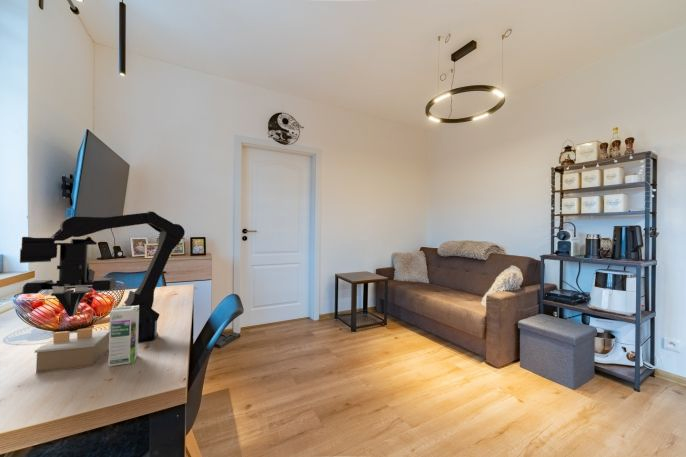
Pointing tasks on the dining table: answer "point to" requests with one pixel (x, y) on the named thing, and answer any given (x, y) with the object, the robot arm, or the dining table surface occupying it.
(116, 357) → the syrup box
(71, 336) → the right cover
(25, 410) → the dining table surface
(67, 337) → the left cover
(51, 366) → the carton
